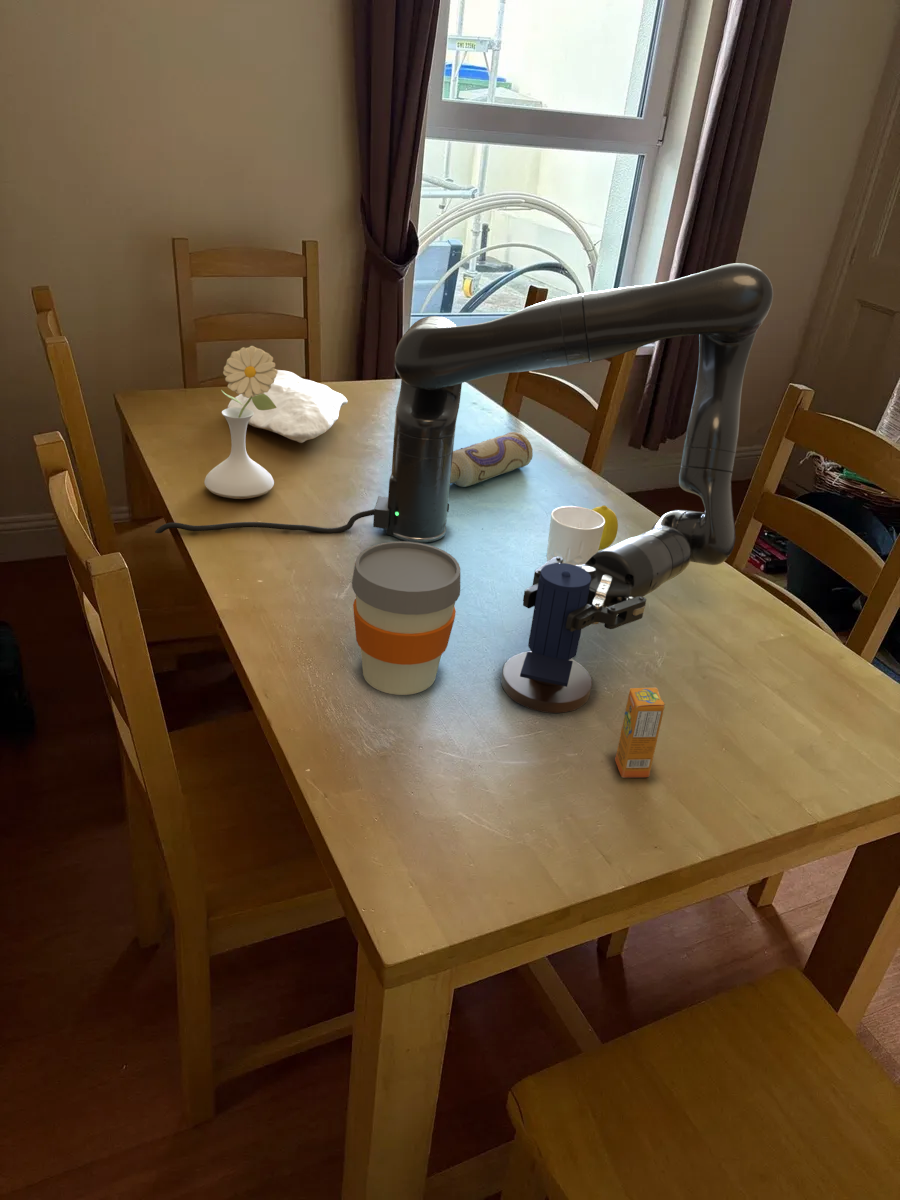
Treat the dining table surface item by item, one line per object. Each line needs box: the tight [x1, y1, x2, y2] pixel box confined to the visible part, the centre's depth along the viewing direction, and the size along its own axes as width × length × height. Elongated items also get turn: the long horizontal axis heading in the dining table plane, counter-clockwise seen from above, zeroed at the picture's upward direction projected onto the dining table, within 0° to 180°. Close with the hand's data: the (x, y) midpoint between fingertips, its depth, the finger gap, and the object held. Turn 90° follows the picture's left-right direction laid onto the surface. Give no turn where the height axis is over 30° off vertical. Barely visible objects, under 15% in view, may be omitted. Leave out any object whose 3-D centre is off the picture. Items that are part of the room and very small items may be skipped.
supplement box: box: [614, 687, 666, 779], centre depth 95 cm, size 3×3×10 cm
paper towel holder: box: [500, 650, 593, 714], centre depth 106 cm, size 11×11×15 cm
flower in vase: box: [203, 345, 278, 500], centre depth 144 cm, size 13×11×25 cm
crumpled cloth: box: [227, 369, 348, 444], centre depth 177 cm, size 24×35×9 cm
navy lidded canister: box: [520, 563, 591, 687], centre depth 102 cm, size 10×6×10 cm, turn 166°
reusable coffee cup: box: [351, 540, 461, 696], centre depth 105 cm, size 12×13×15 cm
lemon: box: [591, 505, 619, 552], centre depth 141 cm, size 6×6×8 cm
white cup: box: [546, 505, 605, 566], centre depth 132 cm, size 8×8×10 cm
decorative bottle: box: [450, 431, 534, 488], centre depth 162 cm, size 26×8×7 cm, turn 137°
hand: (547, 611), depth 102 cm, fingers closed on navy lidded canister, 5 cm apart
